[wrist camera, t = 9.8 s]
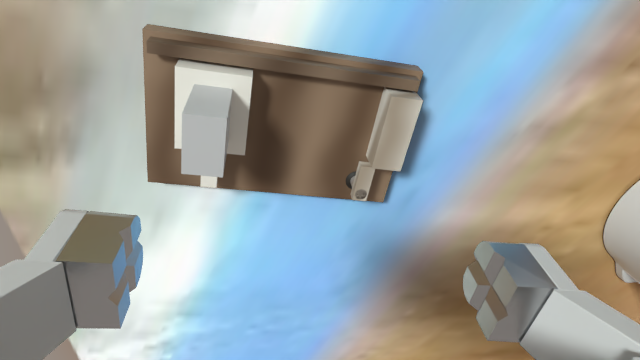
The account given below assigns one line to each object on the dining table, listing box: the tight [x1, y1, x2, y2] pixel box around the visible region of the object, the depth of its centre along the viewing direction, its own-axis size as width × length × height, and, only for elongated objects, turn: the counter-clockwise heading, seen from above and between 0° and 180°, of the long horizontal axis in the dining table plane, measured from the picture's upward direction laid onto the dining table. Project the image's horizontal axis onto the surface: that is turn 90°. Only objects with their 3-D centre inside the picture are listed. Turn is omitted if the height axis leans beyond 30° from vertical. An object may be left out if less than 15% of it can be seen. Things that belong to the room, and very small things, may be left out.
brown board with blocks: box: [143, 24, 423, 202], centre depth 32 cm, size 20×12×4 cm, turn 80°
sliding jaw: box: [175, 58, 253, 188], centre depth 29 cm, size 5×9×7 cm, turn 170°
